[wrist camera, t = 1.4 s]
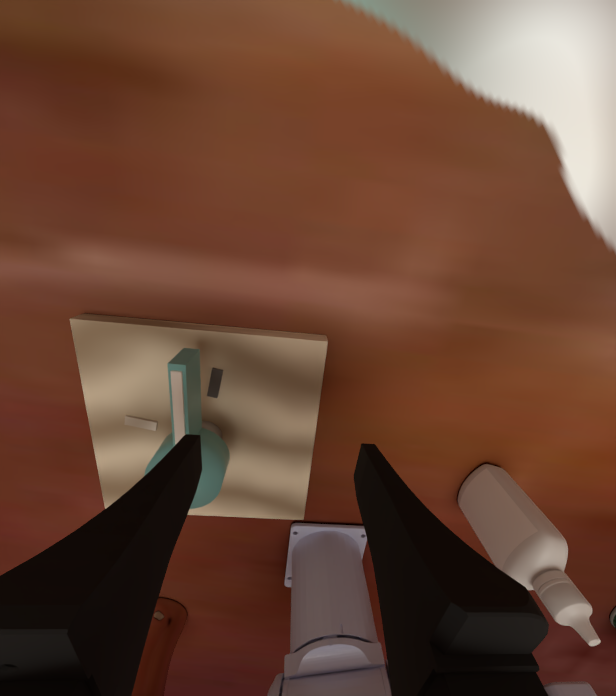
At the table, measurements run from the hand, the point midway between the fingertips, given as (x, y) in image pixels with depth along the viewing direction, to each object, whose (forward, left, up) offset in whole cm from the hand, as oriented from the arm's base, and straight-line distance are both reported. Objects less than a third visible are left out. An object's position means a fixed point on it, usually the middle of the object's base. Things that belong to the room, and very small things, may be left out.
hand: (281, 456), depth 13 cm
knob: (-4, +6, -7) cm, 10 cm away
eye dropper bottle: (-12, -20, -11) cm, 26 cm away
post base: (-7, +6, -11) cm, 14 cm away
